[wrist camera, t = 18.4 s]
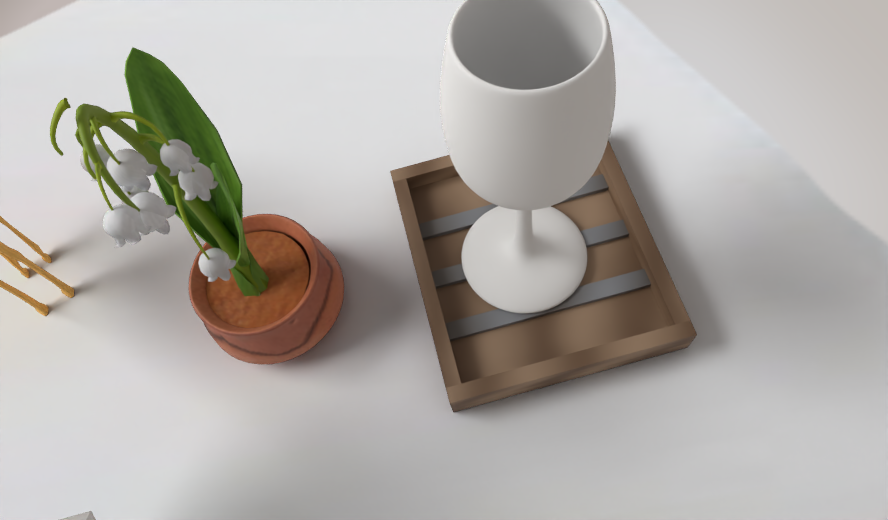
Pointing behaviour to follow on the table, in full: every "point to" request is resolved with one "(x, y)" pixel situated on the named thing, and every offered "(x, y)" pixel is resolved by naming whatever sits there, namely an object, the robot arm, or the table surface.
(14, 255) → the yellow flower sprig
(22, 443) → the table surface
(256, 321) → the potted flower
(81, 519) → the robot arm
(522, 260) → the wineglass
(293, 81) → the table surface
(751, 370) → the table surface
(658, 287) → the wooden tray
